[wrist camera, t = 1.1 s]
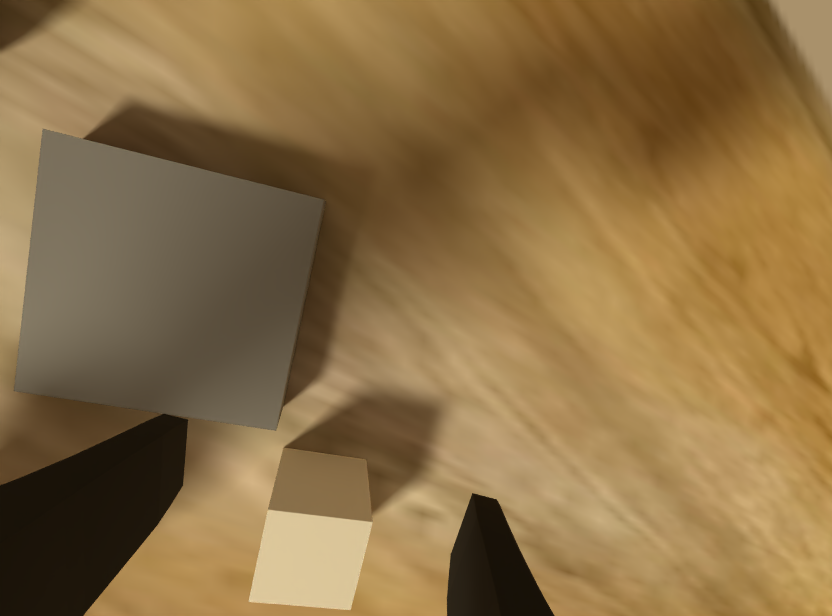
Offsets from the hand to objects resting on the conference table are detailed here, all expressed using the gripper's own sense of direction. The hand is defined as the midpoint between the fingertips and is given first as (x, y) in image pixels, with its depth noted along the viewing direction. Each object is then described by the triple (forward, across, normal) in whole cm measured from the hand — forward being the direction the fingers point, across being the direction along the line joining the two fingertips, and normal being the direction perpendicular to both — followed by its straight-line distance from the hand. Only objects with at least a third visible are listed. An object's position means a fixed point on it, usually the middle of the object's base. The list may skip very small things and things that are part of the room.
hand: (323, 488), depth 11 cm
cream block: (+13, +2, +13) cm, 19 cm away
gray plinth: (+14, +11, +2) cm, 18 cm away
